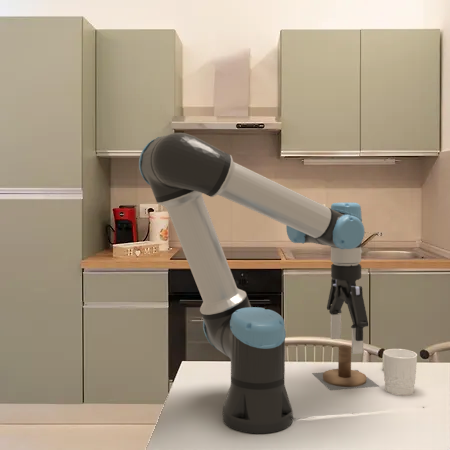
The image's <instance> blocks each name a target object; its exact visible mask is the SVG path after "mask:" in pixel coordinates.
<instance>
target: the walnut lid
mask: <svg viewBox="0 0 450 450" xmlns="http://www.w3.org/2000/svg"><path fill="white" fill-rule="evenodd" d="M337 357H338V361H337V362H338V367H337V368H332V369H328V370H325V371H324V373H323V380H324V381H325V382H327V383H329V384H332V385H335V386H342V387H356V386H361V385H363V384H365V383H366V377H367V375H366V374H365V373H364V372H361V371H359V370H358V371H355V370H356V369H352V346H350V345H345V344H344V345H339V346H338V356H337Z"/></svg>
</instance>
